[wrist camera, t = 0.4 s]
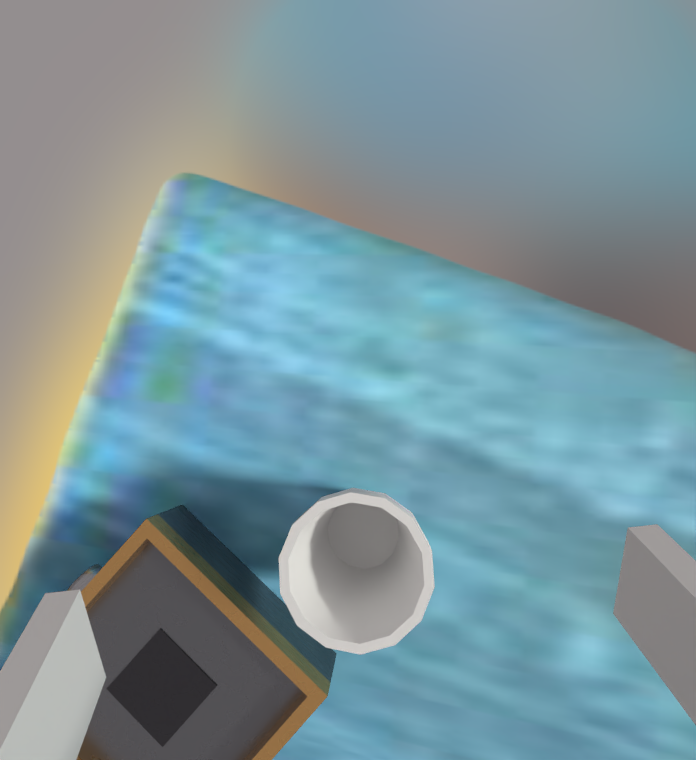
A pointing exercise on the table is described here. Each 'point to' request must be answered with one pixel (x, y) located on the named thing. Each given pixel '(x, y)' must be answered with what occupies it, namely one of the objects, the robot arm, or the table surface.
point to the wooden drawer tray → (194, 652)
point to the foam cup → (356, 571)
